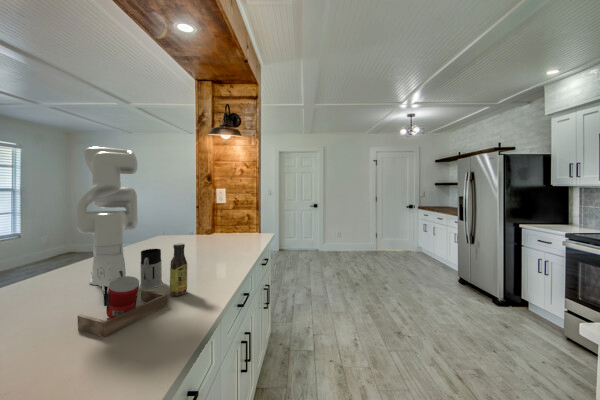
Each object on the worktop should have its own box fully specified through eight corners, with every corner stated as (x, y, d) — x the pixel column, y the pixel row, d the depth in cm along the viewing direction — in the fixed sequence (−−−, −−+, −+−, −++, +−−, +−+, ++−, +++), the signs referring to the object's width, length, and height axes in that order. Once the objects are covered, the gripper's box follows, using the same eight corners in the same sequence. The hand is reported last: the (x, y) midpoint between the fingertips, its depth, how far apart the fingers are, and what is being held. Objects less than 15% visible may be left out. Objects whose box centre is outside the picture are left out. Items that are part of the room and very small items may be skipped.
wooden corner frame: (77, 329, 75) (77, 315, 74) (143, 300, 94) (143, 289, 94) (105, 337, 70) (105, 323, 70) (167, 305, 90) (167, 294, 90)
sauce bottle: (180, 297, 97) (179, 246, 96) (166, 296, 98) (165, 245, 97) (191, 291, 103) (190, 243, 103) (177, 289, 104) (177, 242, 104)
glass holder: (164, 280, 115) (164, 247, 115) (157, 292, 102) (157, 255, 101) (142, 282, 113) (142, 249, 112) (132, 294, 99) (131, 257, 99)
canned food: (140, 312, 85) (144, 284, 82) (113, 324, 78) (116, 293, 75) (128, 300, 88) (131, 273, 86) (101, 311, 81) (104, 281, 79)
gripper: (82, 250, 83) (83, 305, 83) (112, 254, 78) (114, 313, 78) (106, 246, 90) (107, 297, 90) (136, 249, 85) (137, 303, 85)
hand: (110, 304), depth 84 cm, fingers closed
